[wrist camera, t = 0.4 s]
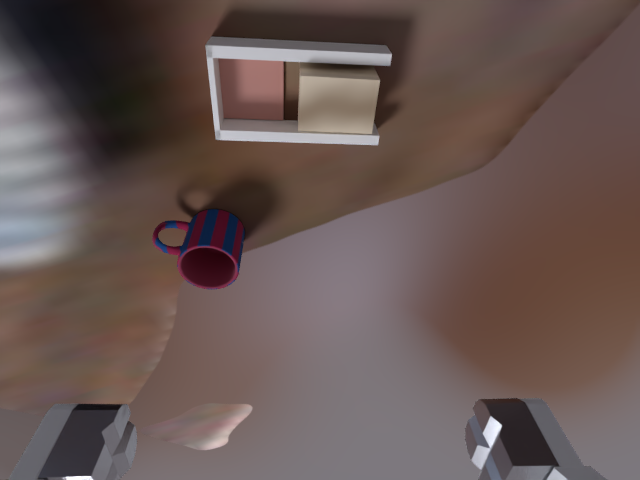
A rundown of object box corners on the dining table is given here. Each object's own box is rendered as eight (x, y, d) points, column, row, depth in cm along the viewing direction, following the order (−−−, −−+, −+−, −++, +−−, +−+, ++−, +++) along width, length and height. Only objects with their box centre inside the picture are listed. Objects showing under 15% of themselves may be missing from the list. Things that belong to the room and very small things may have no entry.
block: (299, 60, 39) (300, 75, 36) (372, 64, 40) (380, 80, 36) (298, 111, 42) (298, 130, 39) (365, 115, 43) (371, 133, 39)
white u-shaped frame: (211, 36, 37) (205, 45, 35) (386, 45, 38) (392, 54, 36) (220, 127, 43) (215, 139, 40) (373, 132, 44) (377, 145, 41)
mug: (228, 259, 54) (221, 297, 49) (154, 224, 50) (138, 262, 45) (254, 225, 51) (249, 262, 45) (177, 185, 47) (162, 220, 41)
